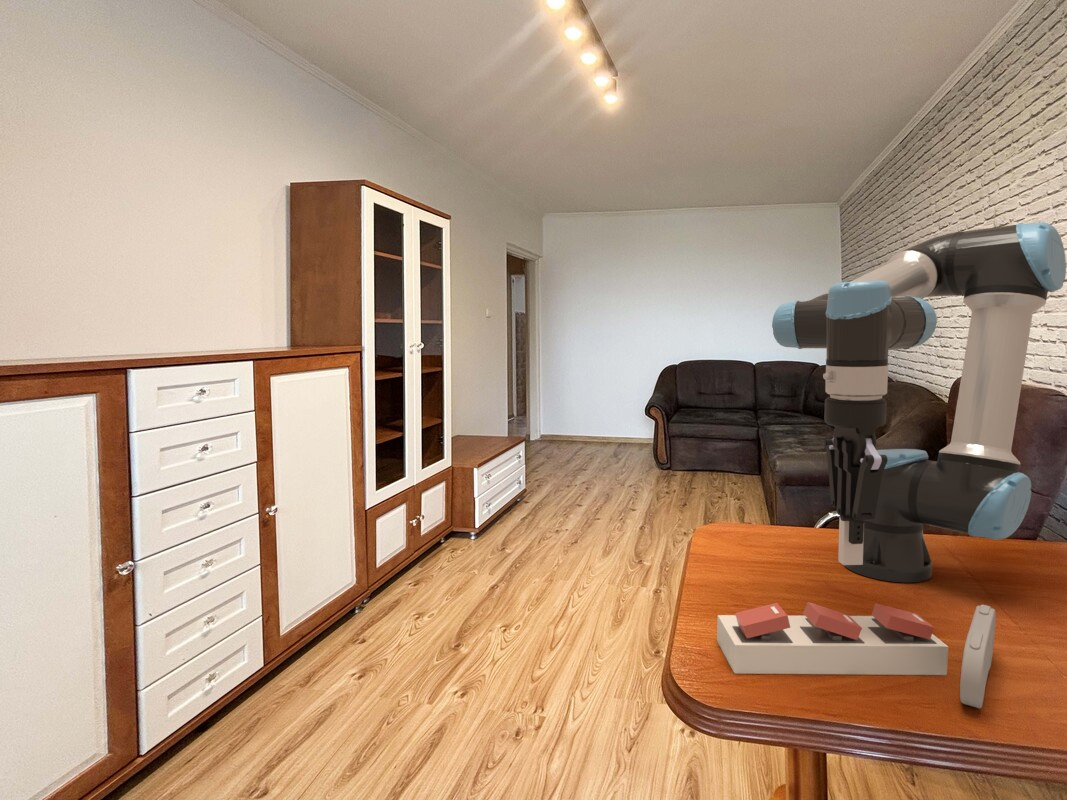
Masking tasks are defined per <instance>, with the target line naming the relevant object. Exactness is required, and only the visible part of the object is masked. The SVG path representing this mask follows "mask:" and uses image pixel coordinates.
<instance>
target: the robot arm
mask: <svg viewBox="0 0 1067 800" xmlns="http://www.w3.org/2000/svg"><path fill="white" fill-rule="evenodd" d="M1066 274H1067V260H1066V251H1065V248H1064V243H1063V240H1062V238H1061V236H1060V234H1059V231H1058V230H1057V229H1056V227H1055V226H1054V225H1052V224H1050V223H1048V222H1042V221H1041V222H1031V223H1030V222H1029V223H1023V222H1019V223H1018V222H1017V224H1011V225H1003V226H996V227H990V228H989V227H987V228H980V229H971V230H964V231H953V232H950V233H945V234H942V235H939V236H935V237H933V238H929V239H927V240H925V241H922V242H920V243H917V244H915V245H912V246H911V247H908V248H905V249H904V250H901V251H900V252H898V253H895V254H893V255H892V256H891V257H889V259H888V260H887V261H886V262H885V264H884V265H882V266H880V267H878V268H876V269H874V270H872V271H870V272H868V273H865V274H863V275H862V276H859V277H857V278H855V279H853V280H851V281H845V282H844V281H843V282H838V283H834V284H833V285H831V286H830V287H829V289H828V292H825V293H823V294H821V295H819V296H816V297H813V298H811V299H810V300H806V301H805V300H804V301H800V300H795V301H792V302H785V303H782V304H781V305H779V306H778V307H777V308H776V310H775V312H774V314H773V317H772V323H771V327H772V336H773V337H774V339H775V340H776V341H775V342H776V343H778V344H779V346H782V347H783V348H784V347H785V348H794V349H795V348H796V349H799V350H803V349H826V359H825V373H823V374H822V377H823V379H824V380H825V389H824V390H825V393H826V394H827V395H829V396H828V397H826V398H825V399H824V416H823V417H824V422H825V424H827V425H828V426H832V427H834V429H833V438H826V439H824V442H823V443H824V447H825V451H826V455H827V456H826V457H827V458H826V459H827V468H828V469H827V470H828V480H829V481H828V482H829V493H830V504H831V506H832V508H836V513H837V515H838V516H839V521H838V522H839V524H838V530H839V531H838V552H837V553H838V555H837V556H838V557H837V558H838V559H837V561H838V562H839V563H840V564H841V565H842V566H844V567H845V568H847V570H850V571H852V572H853V573H856V574H858V575H861V576H865V577H867V578H872V579H876V580H879V581H880V580H881V581H886V582H894V583H920V582H925V581H928V580H929V579H931V577H932V575H933V562H932V560H931V559H932V558H931V555H930V553H929V549H928V546H927V543H926V540H925V536H924V525H927V526H931V527H934V528H935V527H936V528H940V529H943V530H948V531H952V532H957V533H962V534H965V535H969V536H970V537H975V538H976V537H980V538H986V539H990V540H1003V539H1007V538H1009V537H1011V536H1012V535H1013V534H1014V533H1015V532H1016V531H1017V530H1018V529H1019V528H1020V525H1021V524H1022V522H1023V520H1024V518H1025V516H1026V515H1027V511H1028V509H1029V505H1030V502H1031V497H1032V490H1031V489H1032V481H1031V479H1030V478H1029V476H1028V475H1026V474H1024V473H1023V472H1020V468H1021V461H1020V460H1018V458H1017V457H1016V456H1015V455H1014V454H1013V452H1012V448H1013V447H1012V446H1013V441H1014V433H1015V428H1016V421H1017V415H1018V409H1019V404H1020V403H1019V402H1020V396H1021V391H1022V390H1021V389H1022V384H1023V376H1024V372H1025V371H1024V370H1025V365H1026V358H1027V353H1028V346H1029V340H1030V334H1031V328H1032V327H1031V326H1032V319H1033V315H1034V313H1035V312H1037V311H1038V310H1040V309H1041V308H1043V307H1044V306H1046V303H1047V297H1048V293H1054V292H1057V291H1059V290H1061V289H1062V287H1063V286H1064V283H1065V281H1066ZM949 296H950V297H951V296H952V297H953V296H958V297H961V296H963V304H965V306H966V307H967V308H968V309H969V310H970V311H971V316H970V321H969V326H968V334H967V339H966V346H965V351H964V352H965V353H964V356H963V357H964V358H963V366H962V370H961V371H962V372H961V377H960V381H959V382H960V383H959V384H960V385H959V389H958V396H957V402H956V407H955V414H954V421H953V427H952V433H951V439H950V443H949V444H948V445H946V446H945V447H943V448H941V449H940V450H939V451H938V456H937V461H936V460H935V461H934V460H929V455H928V452H927V451H926V450H923V449H922V450H921V449H918V448H917V449H916V448H889V449H877V448H876V447H877V445H878V444H877V443H878V442H877V438H876V430H877V429H878V428H882V427H884V426H885V425H886V424H887V406H888V405H887V403H888V402H887V400H886V399H885V398H884V397H883V396H885V395H887V394H888V382H889V381H888V380H889V378H888V377H889V350H909V349H911V348H915V347H919V346H920V345H923V344H925V343H926V342H927V341H929V340H930V338H931V337H932V336H933V335H934V333H935V331H936V328H937V323H938V319H937V314H936V311H935V308H933V306H932V305H931V304H930V302H928V301H927V300H925V298H931V297H949Z"/></svg>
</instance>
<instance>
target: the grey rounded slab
mask: <svg viewBox="0 0 1067 800" xmlns="http://www.w3.org/2000/svg"><path fill="white" fill-rule="evenodd" d="M996 618H997V617H996V610H995V609H994V608H992V607H991V606H990V605H986V604H980V605H977V606H976V607H975V610H974V614H973V617H972V620H971V623H970V626H969V629H968V633H967V636H966V638H965V639H966V640H965V644H964V647H963V648H964V649H963V653H962V663H961V668H960V671H959V672H960V673H959V675H960V676H959V679H960V685H959V697H960V700H959V701H960V703H962V704H964V705H967V706H970V707H973V708H976V709H982V707H983V703H984V698H985V693H986V692H985V691H986V684H987V682H988V681H987V680H988V675H989V672H990V669H991V666H992V661H993V654H994V653H993V652H994V646H995V645H994V644H995V636H996V635H995V633H996Z"/></svg>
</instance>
